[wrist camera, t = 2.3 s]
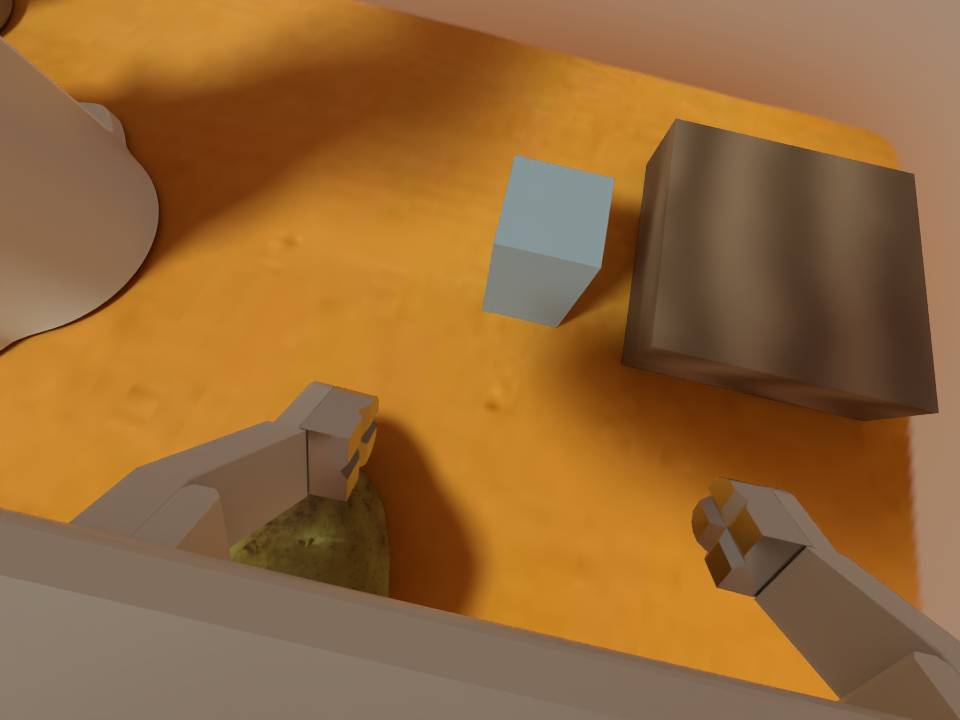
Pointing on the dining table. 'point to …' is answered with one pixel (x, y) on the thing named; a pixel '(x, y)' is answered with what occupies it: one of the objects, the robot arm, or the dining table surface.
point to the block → (547, 241)
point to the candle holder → (5, 11)
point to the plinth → (781, 276)
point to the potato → (326, 541)
